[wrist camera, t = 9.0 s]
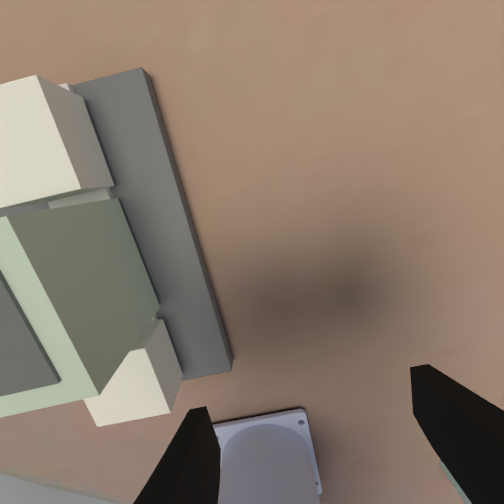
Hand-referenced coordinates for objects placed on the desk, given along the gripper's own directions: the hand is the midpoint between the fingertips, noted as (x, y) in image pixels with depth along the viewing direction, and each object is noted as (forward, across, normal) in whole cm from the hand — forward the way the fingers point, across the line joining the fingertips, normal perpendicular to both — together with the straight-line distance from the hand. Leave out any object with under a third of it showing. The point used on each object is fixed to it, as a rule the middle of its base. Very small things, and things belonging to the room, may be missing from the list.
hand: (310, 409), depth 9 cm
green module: (+8, +10, -5) cm, 14 cm away
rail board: (+9, +10, -5) cm, 15 cm away
